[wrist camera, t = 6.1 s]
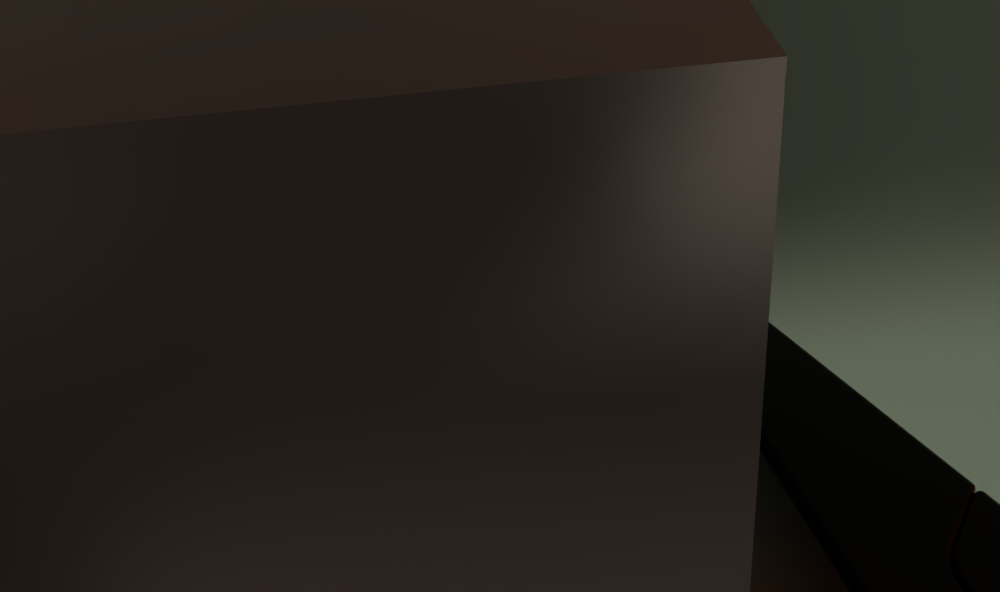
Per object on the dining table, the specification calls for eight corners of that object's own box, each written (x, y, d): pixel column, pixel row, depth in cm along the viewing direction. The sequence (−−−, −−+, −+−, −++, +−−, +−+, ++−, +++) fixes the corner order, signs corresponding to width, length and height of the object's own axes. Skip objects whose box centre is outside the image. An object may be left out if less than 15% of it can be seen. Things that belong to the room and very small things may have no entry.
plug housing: (619, -191, 8) (787, 55, 3) (642, 525, 13) (717, 1068, 8) (121, -130, 8) (-545, 189, 3) (339, 542, 13) (223, 1071, 8)
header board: (1339, -535, 7) (2837, -926, 2) (1017, 513, 14) (1257, 923, 9) (-494, -256, 8) (-1689, -176, 4) (31, 570, 15) (-180, 949, 11)
